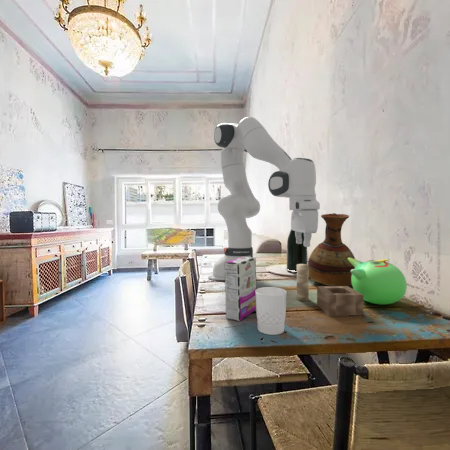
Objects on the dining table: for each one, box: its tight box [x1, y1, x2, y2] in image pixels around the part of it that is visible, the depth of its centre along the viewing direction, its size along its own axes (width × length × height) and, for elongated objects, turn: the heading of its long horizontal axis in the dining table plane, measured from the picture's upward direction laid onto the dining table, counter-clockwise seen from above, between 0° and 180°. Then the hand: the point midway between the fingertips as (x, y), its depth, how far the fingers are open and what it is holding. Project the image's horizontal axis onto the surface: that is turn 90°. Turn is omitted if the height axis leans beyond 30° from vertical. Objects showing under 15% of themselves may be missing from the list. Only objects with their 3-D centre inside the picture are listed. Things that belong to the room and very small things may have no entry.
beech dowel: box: [296, 263, 310, 302], centre depth 94 cm, size 4×4×12 cm
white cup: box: [255, 286, 288, 336], centre depth 69 cm, size 8×8×10 cm
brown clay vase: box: [307, 213, 356, 286], centre depth 115 cm, size 20×20×30 cm
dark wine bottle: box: [286, 228, 308, 271], centre depth 141 cm, size 10×10×33 cm
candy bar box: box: [224, 256, 257, 322], centre depth 80 cm, size 11×5×16 cm, turn 148°
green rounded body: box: [347, 257, 408, 306], centre depth 90 cm, size 18×17×15 cm
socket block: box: [316, 285, 364, 317], centre depth 83 cm, size 10×10×6 cm
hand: (302, 245), depth 94 cm, fingers open, 8 cm apart
